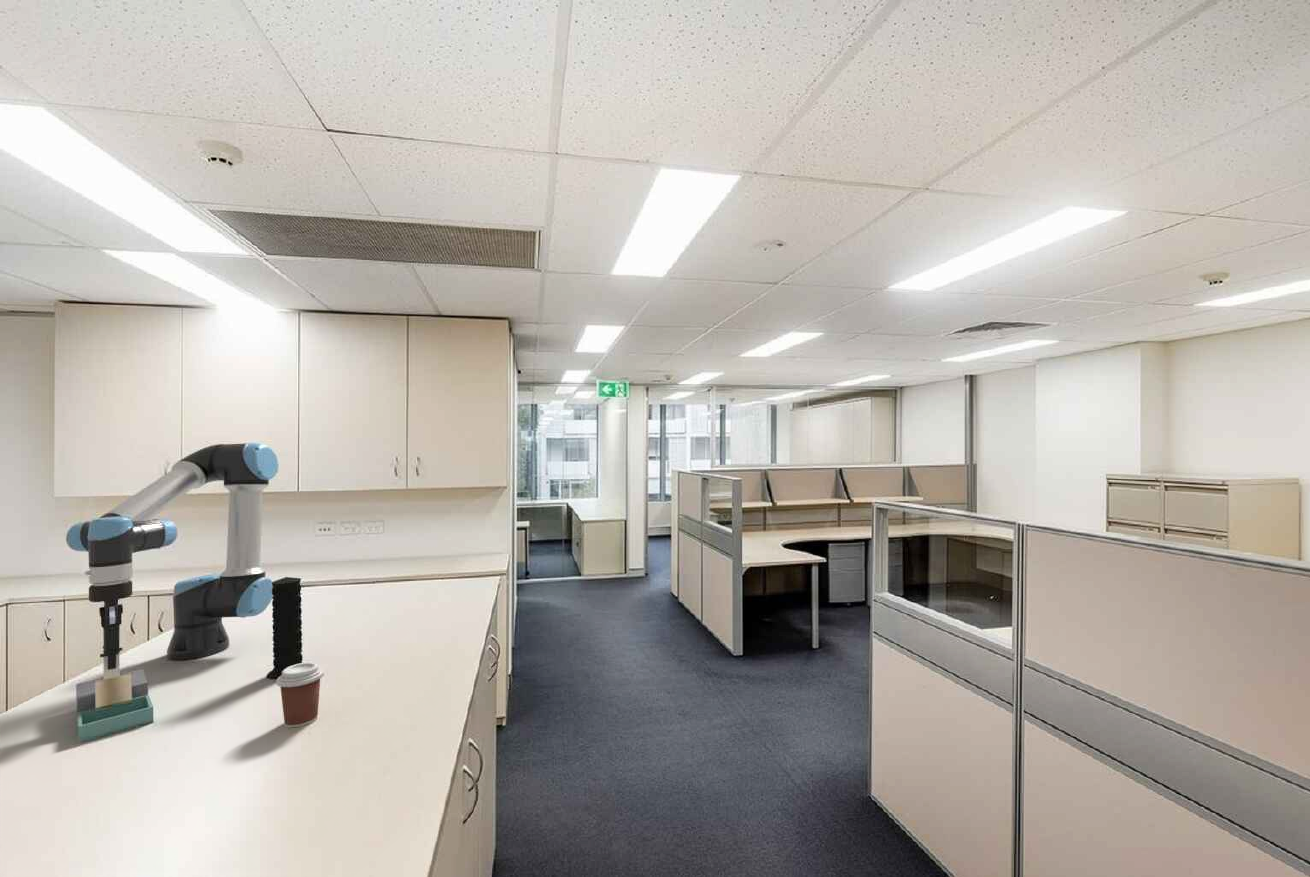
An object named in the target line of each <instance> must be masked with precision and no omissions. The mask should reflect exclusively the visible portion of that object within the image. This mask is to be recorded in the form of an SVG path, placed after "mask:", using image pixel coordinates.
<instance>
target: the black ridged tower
mask: <svg viewBox="0 0 1310 877" xmlns="http://www.w3.org/2000/svg"><path fill="white" fill-rule="evenodd" d="M301 580H302V578H300V577H292V576H290V577H289V576H285V577H282V578H280V579H276V580H274V581H272V586H273V588H272V594H273V597H272V600H271V605H272V609H271V610H272V613H271V614H272V615H271V616H272V634H273V636H272V642H273V643H272V646H273V647H272V653H273V656H272V657H273V661H272V665H273V668H272V670H270V671H268V673H267V674H266V676H265V677H266V679H268V680H276V679H278V678H279V677H280V676H281V675H282V671H283V670H284V669H285V668H287V667H289V666H292V665H295V664H300V663H304V662H303V649H302V648H303V643H302V641H303V638H302V636H303V631H302V629H303V627H302V624H303V621H302V612H303V611H302V606H303V605H302V596H301V595H302V592H301V591H302V584H301Z"/></svg>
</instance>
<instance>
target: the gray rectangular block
mask: <svg viewBox="0 0 1310 877" xmlns="http://www.w3.org/2000/svg"><path fill="white" fill-rule="evenodd" d="M128 674H131V688H132V699H133V698H137V697H141V696H145V695H149V682H148V680H147V676H146V674H145V672H144V670H143V668H141V669H136V670H134V671H128V672H123V673H120V676H124V675H128ZM101 680H104V677H102V678H97V679H93V680H89V681H84V682H80V683H76V685H75V686H76V687H75V688H76V691H75V692H76V693H75V694H76V695H75V696H76V697H75V698H76V699H75V700H76V701H75V702H76V723H77V726H78V712H82V711H86V710H90V709H94V708H95V682H96V681H101Z"/></svg>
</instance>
